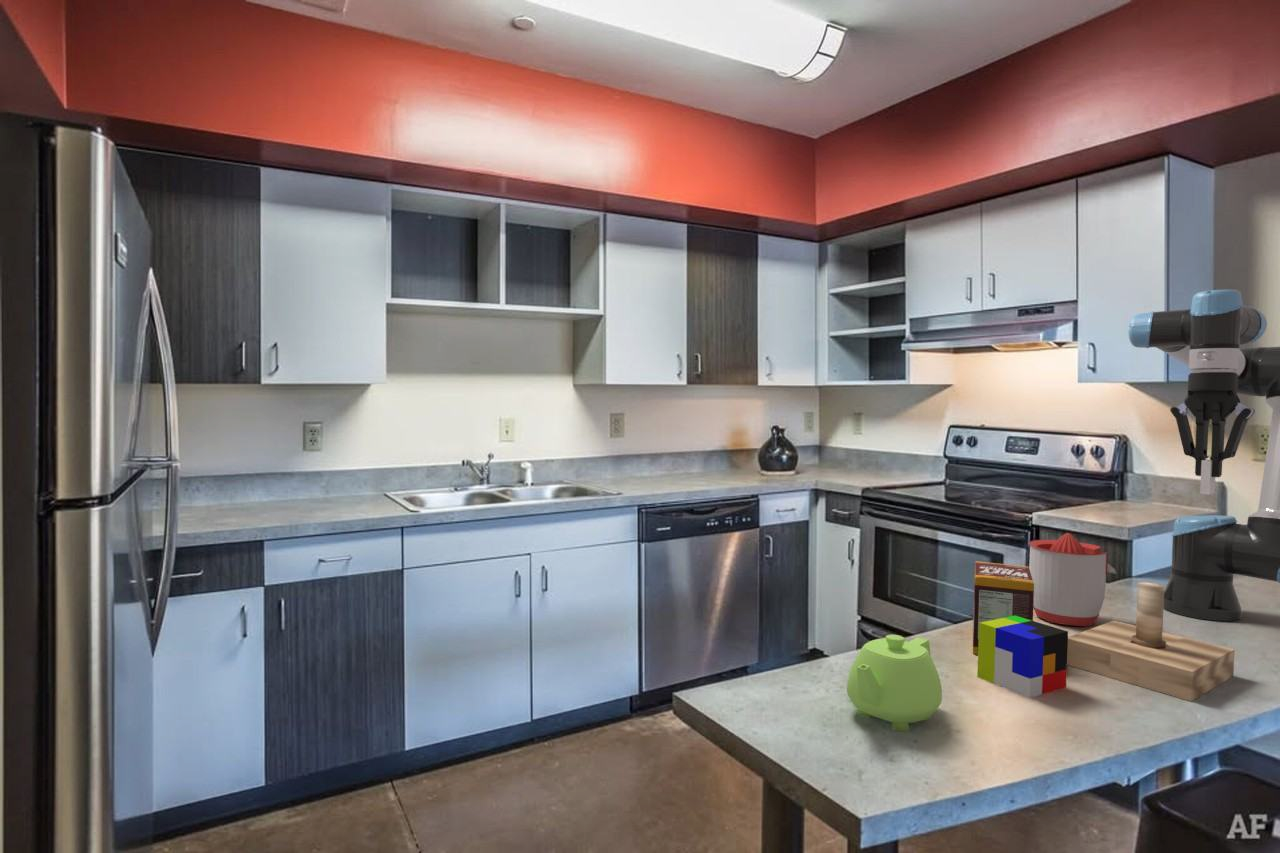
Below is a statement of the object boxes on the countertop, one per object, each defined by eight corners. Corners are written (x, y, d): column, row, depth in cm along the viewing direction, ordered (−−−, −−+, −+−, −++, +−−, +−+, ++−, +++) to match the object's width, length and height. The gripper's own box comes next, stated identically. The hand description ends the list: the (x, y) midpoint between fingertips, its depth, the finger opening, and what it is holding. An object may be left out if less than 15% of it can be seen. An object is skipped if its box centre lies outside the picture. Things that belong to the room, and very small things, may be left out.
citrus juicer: (1123, 635, 154) (1127, 542, 153) (1032, 625, 160) (1035, 536, 159) (1104, 614, 169) (1107, 530, 168) (1021, 606, 175) (1024, 524, 174)
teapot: (898, 751, 102) (900, 664, 101) (818, 718, 112) (820, 638, 112) (964, 713, 115) (967, 635, 114) (888, 686, 125) (890, 614, 125)
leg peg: (1137, 662, 138) (1141, 580, 137) (1169, 671, 134) (1173, 586, 133) (1125, 668, 135) (1129, 583, 134) (1157, 677, 131) (1161, 590, 130)
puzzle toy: (1029, 698, 121) (1031, 639, 121) (977, 677, 130) (979, 622, 130) (1065, 687, 126) (1068, 631, 125) (1013, 668, 135) (1015, 615, 134)
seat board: (1112, 644, 148) (1113, 620, 148) (1233, 676, 132) (1234, 649, 132) (1064, 663, 137) (1065, 637, 137) (1190, 701, 120) (1192, 671, 120)
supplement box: (1026, 639, 151) (1029, 565, 150) (1032, 663, 137) (1035, 582, 136) (972, 632, 155) (974, 560, 155) (972, 654, 141) (974, 576, 141)
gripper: (1165, 371, 142) (1160, 491, 143) (1249, 370, 131) (1242, 499, 132) (1180, 372, 146) (1175, 488, 147) (1262, 371, 135) (1256, 496, 136)
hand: (1207, 493), depth 140 cm, fingers closed
